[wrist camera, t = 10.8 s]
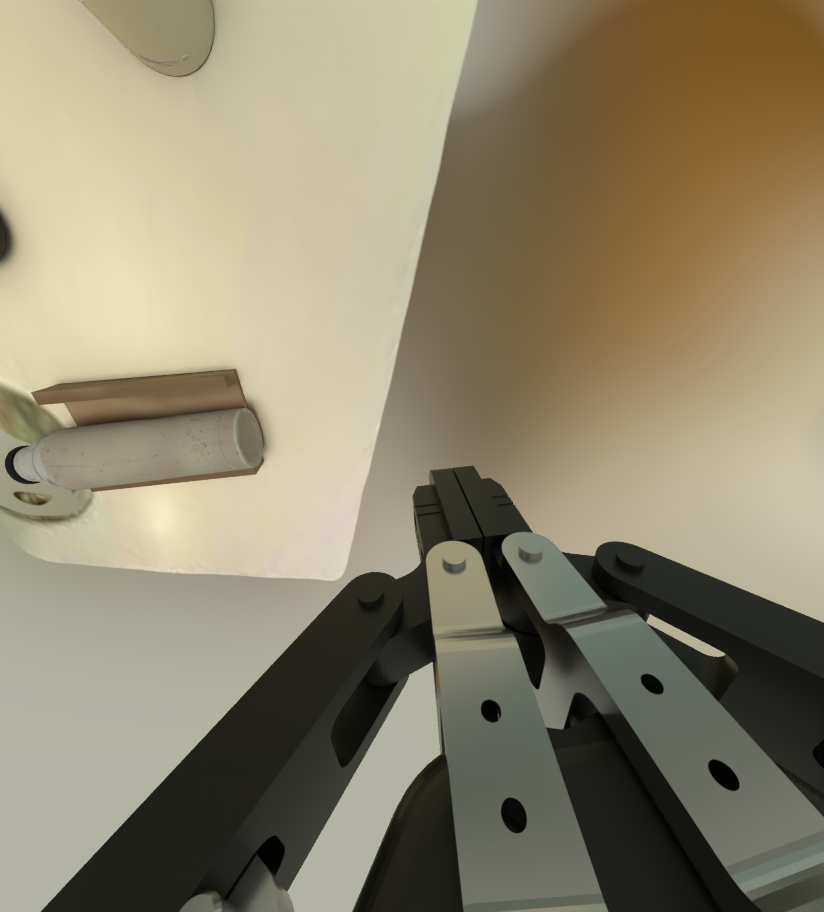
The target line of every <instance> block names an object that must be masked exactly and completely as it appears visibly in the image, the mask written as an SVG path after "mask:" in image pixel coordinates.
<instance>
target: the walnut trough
mask: <svg viewBox="0 0 824 912" xmlns="http://www.w3.org/2000/svg"><path fill="white" fill-rule="evenodd" d="M31 394H32V395H33V397H34V399H35V400H36V402H37V403H38V405H44V404H55V403H65V405H66V407H67V409H68V410H69V412H70V414H71V416H72V417H73V419H74V421H75V423H76V424H77V426H78V427H81V426H89V425H98V424H107V423H116V422H124V421H133V420H144V419H158V418H165V417H171V416H177V415H186V414H194V413H204V412H213V411H221V410H229V409H238V408H247V404H246V401H245V398H244V395H243V391H242V388H241V385H240V382H239V378H238V375H237V372H236V369H233V370H221V371H209V372H197V373H185V374H174V375H162V376H150V377H138V378H126V379H114V380H102V381H90V382H78V383H66V384H58V385H55V386H51V387H48V388H45V389H42V390H38V391H35V392H32V393H31ZM247 409H248V408H247ZM263 462H264V460H263V456H262V459H261V462H260V464H259V465H258V466H257V467H255V468H250V469H242V470H234V471H226V472H218V473H210V474H200V475H191V476H183V477H177V478H170V479H162V480H154V481H146V482H138V483H130V484H122V485H114V486H106V487H98V488H90V489H91V491H92V492H95V491H104V490H114V489H123V488H132V487H142V486H151V485H160V484H170V483H179V482H188V481H198V480H207V479H217V478H226V477H235V476H245V475H254V474H256V473H257V472H258V470H259V468H260V467H261V465H262V464H263Z"/></svg>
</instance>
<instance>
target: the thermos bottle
mask: <svg viewBox="0 0 824 912" xmlns="http://www.w3.org/2000/svg"><path fill="white" fill-rule="evenodd" d="M262 453H263V442H262V435H261V431H260V427H259V424H258V422H257V420H256V418H255V416H254V415H253V413H252V412H251V411H250V410H248V409H247V408H238V409H229V410H221V411H213V412H204V413H194V414H186V415H177V416H171V417H165V418H158V419H144V420H133V421H124V422H116V423H107V424H98V425H89V426H81V427H72V428H64V429H60V430H57V431H55V432H53V433H51V434H50V435H47V436H45V437H41V438H39V439H37V440H36V441H35V442H33V443H32V445H29V446H20V447H17V448H15V449H13V450H12V451H10V452H9V453H8V455H7V457H6V460H5V467H6V470H7V472H8V474H9V475H10V476H11V477H12V478H13V479H14V480H16V481H17V482H20V483H23V484H35V483H40V482H41V483H43V484H45V485H48V486H53V487H63V488H66V489H70V490H82V489H90V488H98V487H106V486H114V485H122V484H130V483H138V482H146V481H154V480H162V479H170V478H177V477H183V476H191V475H200V474H210V473H218V472H226V471H234V470H242V469H250V468H255V467H257V466H258V465H259V464H260V462H261V459H262Z"/></svg>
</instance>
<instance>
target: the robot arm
mask: <svg viewBox="0 0 824 912" xmlns="http://www.w3.org/2000/svg"><path fill="white" fill-rule="evenodd" d="M79 1H80V2H81V3H82V4H83V5H84V6H85V7H86V8H87V9H88V10H89V11H90V12H91V13H92V14H93V15H94V16H95V17H96V18H97V19H98V20H99V21H100V22H101V23H102V24H103V25H104V26H105V27H106V28H107V29H108V30H109V31H110V32H111V33H112V34H114V35H115V36H116V37H117V38H118V39H119V40H120V41H121V42H122V43H123V44H124V45H125V46H126V47H127V48H128V49H129V50H130V51H131V52H132V53H133V54H134V55H135V56H136V57H137V58H138V59H139V60H141V61H142V62H143V63H144V64H146V65H147V66H149V67H151V68H152V69H154V70H155V71H158V72H161V73H163V74H166V75H172V76H182V75H187V74H190V73H192V72H193V71H195V70H197V69H198V68H199V67H200V66H201V65H202V64H203V63H204V62H205V60H206V58H207V56H208V54H209V52H210V49H211V45H212V42H213V34H214V18H213V8H212V4H211V0H79ZM429 475H430V476H429V478H430V485H426V486H417V488H416V490H415V492H414V494H413V508H414V522H415V533H416V538H417V543H418V549H419V555H420V560H421V563H420V565H419V566H418V567H417V568H416V569H415V570H414V571H412V572H411V573H409V574H407V575H406V576H403V577H401V578H399V579H395V578H394V577H392V576H390V575H388V574H386V573H381V572H370V573H365V574H363V575H360V576H358V577H356V578H355V579H353V580H352V581H351V582H350V583H348V584H347V585H346V587H345V588H343V590H342V591H341V592H340V593H339V594H338V595H337V596H336V597H335V598H334V599H333V600H332V601H331V602H330V604H329V605H328V606H327V607H326V608H325V609H324V610H323V611H322V612H321V613H320V614H319V615H318V616H317V617H316V619H315V620H314V621H313V622H312V623H311V624H310V625H309V626H308V627H307V628H306V629H305V630H304V631H303V632H302V633H301V635H300V636H299V637H298V638H297V639H296V640H295V641H294V642H293V643H292V644H291V645H290V646H289V647H288V648H287V649H286V650H285V651H284V653H283V654H282V655H281V656H280V657H279V658H278V659H277V660H276V661H275V662H274V663H273V664H272V665H271V666H270V667H269V669H268V670H267V671H266V672H265V673H264V674H263V675H262V676H261V677H260V678H259V679H258V680H257V681H256V682H255V684H254V685H253V686H252V687H251V688H250V689H249V690H248V691H247V692H246V693H245V694H244V695H243V696H242V697H241V698H240V700H239V701H238V702H237V703H236V704H235V705H234V706H233V707H232V708H231V709H230V710H229V711H228V712H227V713H226V714H225V716H224V717H223V718H222V719H221V720H220V721H219V722H218V723H217V724H216V725H215V726H214V727H213V728H212V729H211V730H210V732H209V733H208V734H207V735H206V736H205V737H204V738H203V739H202V740H201V741H200V742H199V743H198V744H197V746H195V748H194V749H193V750H192V751H191V752H190V753H189V754H188V755H187V756H186V757H185V758H184V759H183V760H182V762H181V763H180V764H179V765H178V766H177V767H176V768H175V769H174V770H173V771H172V772H171V773H170V774H169V775H168V776H167V778H166V779H165V780H164V781H163V782H162V783H161V784H160V785H159V786H158V787H157V788H156V789H155V790H154V791H153V793H151V795H150V796H149V797H148V798H147V799H146V800H145V801H144V802H143V803H142V804H141V805H140V806H139V807H138V808H137V809H136V811H135V812H134V813H133V814H132V815H131V816H130V817H129V818H128V819H127V820H126V821H125V823H123V824H122V826H121V827H120V828H119V829H118V830H117V831H116V832H115V833H114V834H113V835H112V836H111V837H110V838H109V839H108V840H107V842H106V843H105V844H104V845H103V846H102V847H101V848H100V849H99V850H98V851H97V852H96V853H95V854H94V855H93V856H92V858H91V859H90V860H89V861H88V862H87V863H86V864H85V865H84V866H83V867H82V868H81V869H80V870H79V871H78V873H77V874H76V875H75V876H74V877H73V878H72V879H71V880H70V881H69V882H68V883H67V884H66V885H65V886H64V887H63V888H62V890H61V891H60V892H59V893H58V894H57V895H56V896H55V897H54V898H53V899H52V900H51V901H50V902H49V903H48V905H47V906H46V907H45V908H44V909H43V910H42V911H41V912H294V908H293V904H292V901H291V899H290V896H289V894H288V892H287V891H288V889H289V887H290V886H291V884H292V882H293V880H294V879H295V877H296V875H297V873H298V872H299V869H300V868H301V866H302V865H303V863H304V861H305V859H306V858H307V856H308V854H309V852H310V851H311V849H312V847H313V845H314V843H315V842H316V840H317V838H318V836H319V835H320V833H321V831H322V830H323V828H324V826H325V824H326V823H327V821H328V819H329V817H330V816H331V814H332V812H333V810H334V808H335V807H336V805H337V803H338V801H339V800H340V798H341V796H342V794H343V793H344V791H345V789H346V787H347V786H348V784H349V782H350V780H351V779H352V777H353V775H354V773H355V772H356V770H357V768H358V766H359V765H360V763H361V761H362V759H363V758H364V756H365V754H366V752H367V751H368V749H369V747H370V745H371V743H372V742H373V740H374V738H375V737H376V735H377V733H378V731H379V729H380V728H381V726H382V724H383V723H384V721H385V719H386V717H387V716H388V714H389V712H390V710H391V709H392V707H393V705H394V703H395V701H396V700H397V698H398V696H399V695H400V693H401V691H402V689H403V688H404V686H405V684H406V682H407V680H408V677H409V674H411V673H413V672H415V671H417V670H418V669H420V668H422V667H424V666H425V665H427V664H429V663H431V662H433V672H434V682H435V693H436V704H437V717H438V730H439V743H440V755H439V756H438V757H437V758H435V759H434V760H433V761H432V762H430V763H429V764H428V765H427V766H426V767H425V768H424V769H423V770H422V771H421V772H420V773H419V774H418V775H417V777H416V778H415V779H414V781H413V782H412V783H411V785H410V786H409V787H408V789H407V790H406V792H405V794H404V795H403V797H402V799H401V801H400V803H399V805H398V806H397V808H396V810H395V812H394V815H393V817H392V819H391V822H390V824H389V826H388V829H387V831H386V833H385V836H384V838H383V841H382V843H381V845H380V847H379V850H378V852H377V854H376V857H375V859H374V862H373V864H372V866H371V869H370V871H369V873H368V876H367V878H366V881H365V883H364V885H363V888H362V890H361V892H360V895H359V897H358V899H357V902H356V904H355V907H354V909H353V912H824V623H823V622H821V621H818V620H816V619H813V618H811V617H808V616H806V615H804V614H801V613H799V612H796V611H794V610H791V609H789V608H786V607H784V606H782V605H779V604H777V603H774V602H772V601H769V600H767V599H764V598H762V597H760V596H757V595H755V594H752V593H750V592H748V591H745V590H743V589H740V588H738V587H735V586H733V585H731V584H728V583H726V582H723V581H721V580H718V579H716V578H714V577H711V576H709V575H706V574H704V573H701V572H699V571H696V570H694V569H691V568H689V567H687V566H684V565H682V564H679V563H677V562H675V561H672V560H670V559H667V558H665V557H662V556H660V555H658V554H655V553H653V552H650V551H648V550H645V549H643V548H640V547H638V546H635V545H632V544H628V543H624V542H607V543H604V544H602V545H600V546H599V547H598V548H597V550H596V554H595V556H587V555H579V554H570V553H564V552H561V551H560V550H559V549H558V548H557V547H556V545H555V544H554V543H553V542H551V541H550V540H549V539H547V538H546V537H543V536H541V535H538V534H535V533H533V532H532V531H531V529H530V528H529V526H528V525H527V523H526V522H525V520H524V519H523V517H522V516H521V514H520V513H519V511H518V510H517V508H516V507H515V505H513V502H512V501H511V499H510V498H509V497H508V495H507V493H506V492H505V490H504V489H503V487H502V486H501V485H500V484H498V483H497V482H495V481H494V480H492V479H491V478H487V479H481V478H480V476H479V474H478V472H477V471H476V469H475V467H474V466H466V467H457V468H452V469H451V468H448V469H439V470H431V471H430V473H429ZM650 614H651V615H653V616H655V617H657V618H658V619H660V620H662V621H664V622H666V623H668V624H670V625H672V626H674V627H676V628H678V629H680V630H682V631H684V632H686V633H688V634H690V635H691V636H693V637H695V638H697V639H699V640H701V641H703V642H705V643H707V644H709V645H711V646H713V647H715V648H716V649H718V650H720V651H722V652H724V653H725V654H726V655H724V656H722V657H713V656H708V655H705V654H703V653H701V652H699V651H697V650H695V649H694V648H692V647H690V646H688V645H686V644H684V643H682V642H681V641H679V640H677V639H675V638H673V637H671V636H669V635H667V634H665V633H664V632H662V631H660V630H658V629H656V628H654V627H653V626H651V625H649V624H647V623H646V622H647V619H648V617H649V615H650Z"/></svg>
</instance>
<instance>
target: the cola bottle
mask: <svg viewBox="0 0 824 912" xmlns="http://www.w3.org/2000/svg"><path fill="white" fill-rule="evenodd" d="M5 247H6V236H5V232H4V229H3V226H2V224H1V222H0V257H1V256H2V255H3V253H4V251H5Z"/></svg>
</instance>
